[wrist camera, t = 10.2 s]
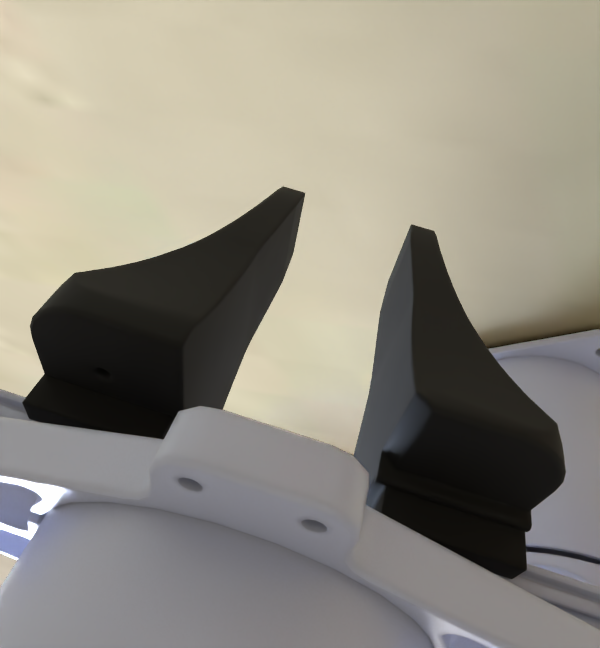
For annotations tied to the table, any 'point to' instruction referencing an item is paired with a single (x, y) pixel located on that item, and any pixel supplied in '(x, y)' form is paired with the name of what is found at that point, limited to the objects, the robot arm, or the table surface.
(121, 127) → the table surface
